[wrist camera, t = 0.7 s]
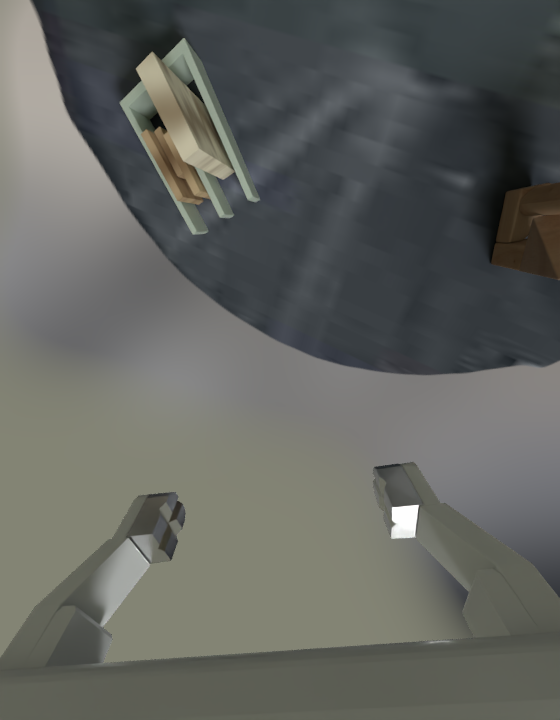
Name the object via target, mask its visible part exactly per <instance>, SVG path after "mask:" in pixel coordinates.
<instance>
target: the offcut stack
mask: <svg viewBox="0 0 560 720" xmlns="http://www.w3.org/2000/svg"><path fill="white" fill-rule="evenodd" d="M141 136H142V138H143V139H144V141H145V143H146V145H147V147H148V148H149V150H150V152H151V154H152V156H153V158H154V159H155V161H156V163H157V165H158V167H159V168H160V170H161V172H162V174H163V176H164V177H165V179H166V181H167V183H168V185H169V187H170V188H171V190H172V192H173V194H174V196H175V197H176V199H177V201H180V202H186V203H192V204H198V205H199V204H200V203H202V202H203V199H202V197H203V198H208V199H210V197H209V195H208V193H207V191H206V189H205V187H204V185H203V183H202V181H201V179H200V177H199V175H198V173H197V171H196V169H195V167H194V166H192V165H190V164H188V163H186V162H184V161H183V160H182V158H181V156H180V154H179V152H178V150H177V148H176V146H175V144H174V142H173V141H172V139H171V137H170V135H169V133H168V131H166V130H165V129H163V128H161V127H159V128H157V129H156V130H155V131H154V133H153V132H151V131H149V130H147V129H146V130H145V131H144V132H143V133H141Z"/></svg>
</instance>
